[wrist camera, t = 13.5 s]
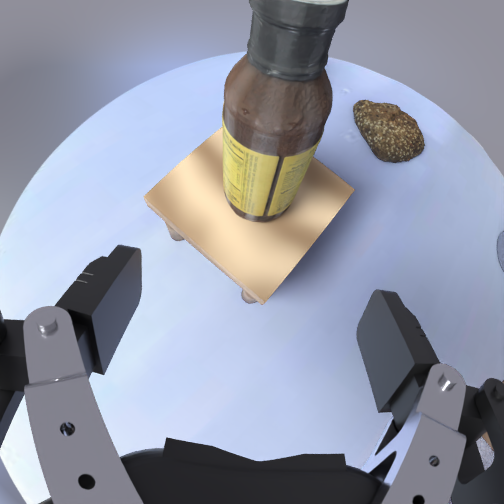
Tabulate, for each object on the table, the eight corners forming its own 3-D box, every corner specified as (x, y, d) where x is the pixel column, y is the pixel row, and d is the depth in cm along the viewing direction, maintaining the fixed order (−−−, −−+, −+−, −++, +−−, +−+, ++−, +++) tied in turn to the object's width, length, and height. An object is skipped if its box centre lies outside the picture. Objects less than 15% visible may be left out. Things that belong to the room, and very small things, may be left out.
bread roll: (371, 166, 43) (385, 147, 38) (343, 103, 46) (353, 83, 41) (431, 163, 45) (447, 148, 40) (402, 106, 48) (414, 89, 43)
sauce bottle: (287, 164, 29) (361, -27, 10) (294, 225, 27) (411, 38, 8) (219, 163, 28) (231, -46, 9) (220, 226, 26) (232, 6, 7)
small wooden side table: (238, 158, 40) (245, 108, 30) (323, 225, 39) (354, 189, 29) (161, 233, 36) (143, 196, 26) (252, 313, 35) (265, 302, 25)
